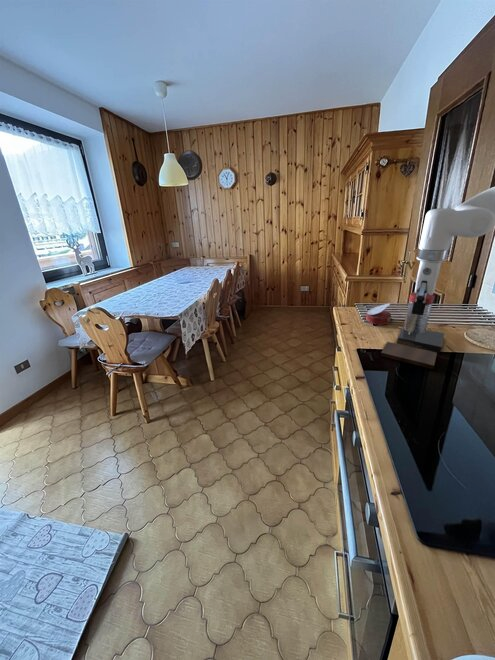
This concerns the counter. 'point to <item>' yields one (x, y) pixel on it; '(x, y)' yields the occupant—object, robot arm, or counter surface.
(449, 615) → the counter surface
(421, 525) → the counter surface
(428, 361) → the board
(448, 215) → the robot arm
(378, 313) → the canned food
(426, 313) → the jar with red lid
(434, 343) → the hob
